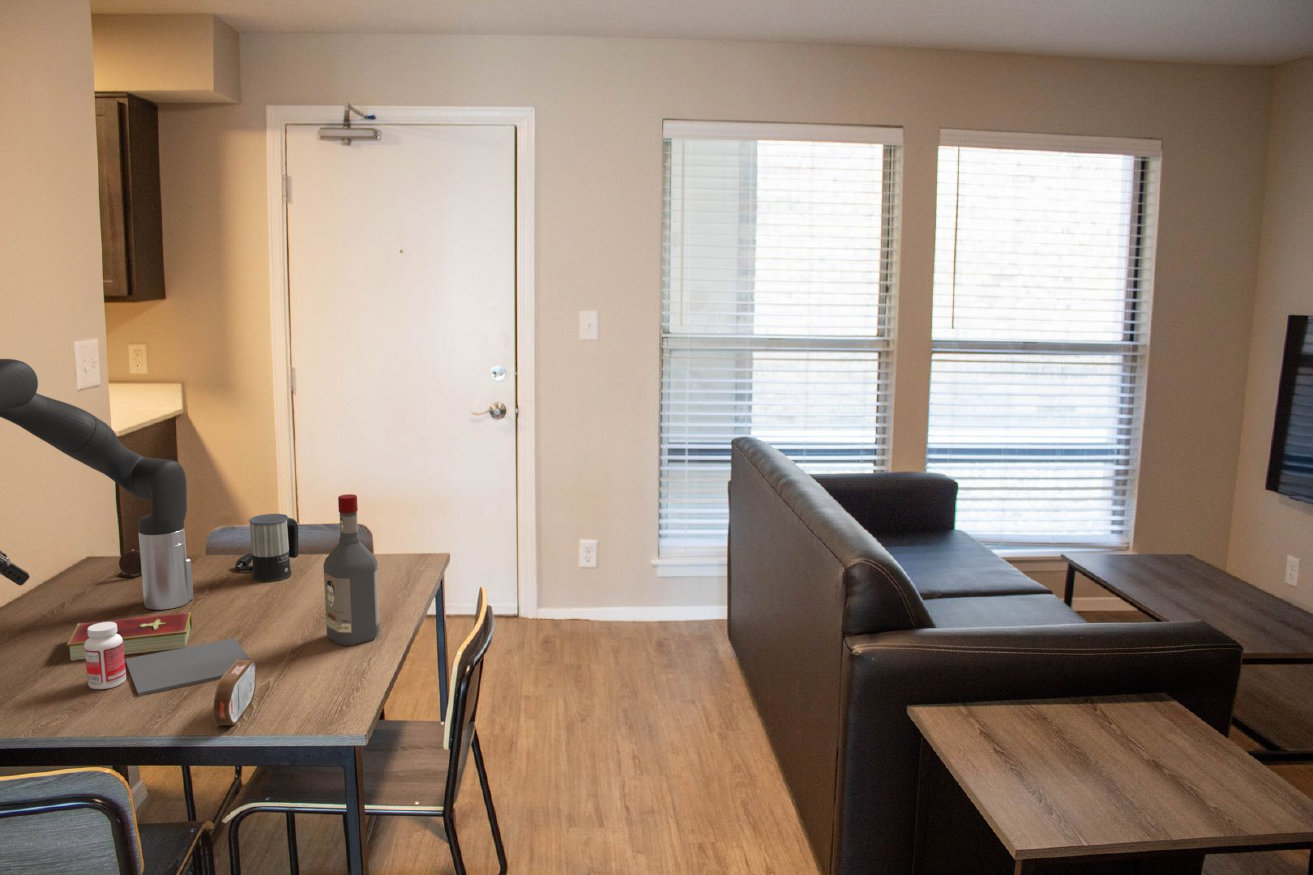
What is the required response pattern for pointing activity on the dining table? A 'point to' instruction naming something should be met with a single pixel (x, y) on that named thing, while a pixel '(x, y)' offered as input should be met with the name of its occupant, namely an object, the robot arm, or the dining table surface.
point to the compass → (130, 564)
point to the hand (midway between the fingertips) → (25, 580)
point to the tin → (234, 692)
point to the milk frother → (271, 547)
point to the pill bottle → (104, 656)
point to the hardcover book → (139, 634)
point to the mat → (183, 666)
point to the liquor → (351, 583)
